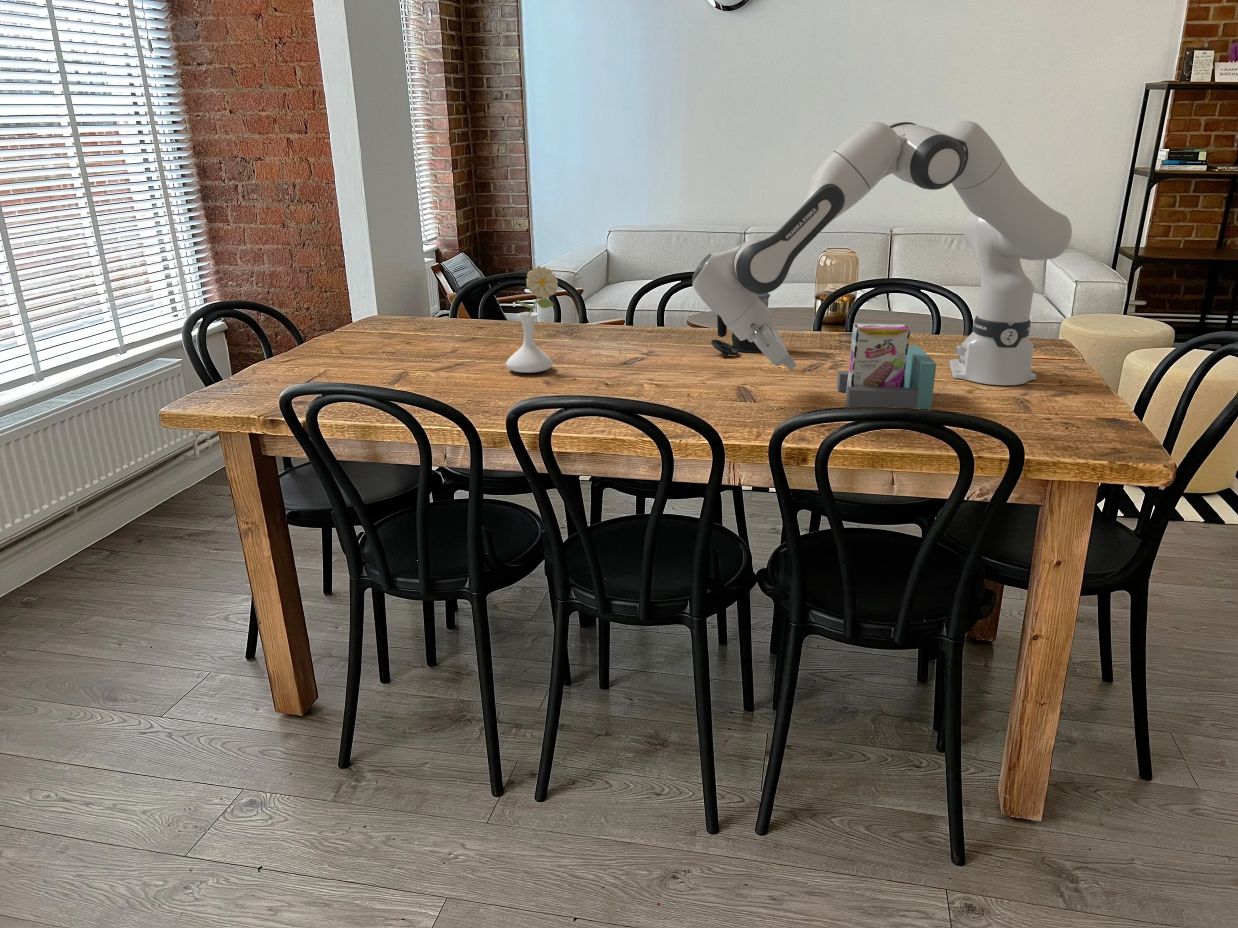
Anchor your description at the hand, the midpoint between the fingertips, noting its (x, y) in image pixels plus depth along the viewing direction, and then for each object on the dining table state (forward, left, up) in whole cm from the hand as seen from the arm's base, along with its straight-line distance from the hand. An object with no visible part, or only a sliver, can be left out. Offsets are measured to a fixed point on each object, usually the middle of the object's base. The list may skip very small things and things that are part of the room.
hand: (793, 366), depth 198 cm
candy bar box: (+1, +17, -7) cm, 19 cm away
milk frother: (-43, -9, -7) cm, 44 cm away
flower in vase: (-19, -60, -7) cm, 63 cm away
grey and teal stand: (0, +19, -7) cm, 20 cm away
